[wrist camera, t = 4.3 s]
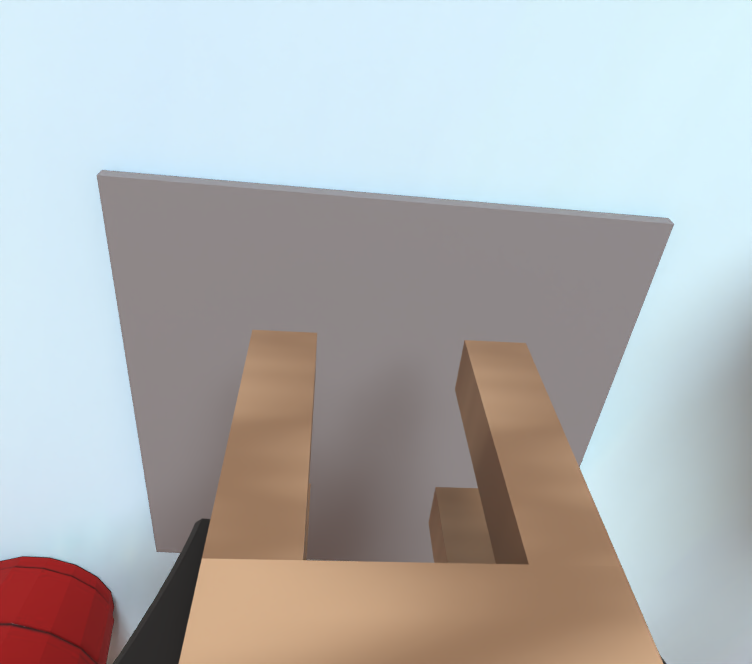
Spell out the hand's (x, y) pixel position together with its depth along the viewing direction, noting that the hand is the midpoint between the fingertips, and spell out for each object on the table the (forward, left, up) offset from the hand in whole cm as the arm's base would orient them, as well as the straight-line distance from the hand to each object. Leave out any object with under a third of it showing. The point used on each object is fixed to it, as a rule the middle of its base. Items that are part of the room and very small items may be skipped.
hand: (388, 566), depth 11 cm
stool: (0, 0, -3) cm, 3 cm away
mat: (0, +5, -10) cm, 11 cm away
